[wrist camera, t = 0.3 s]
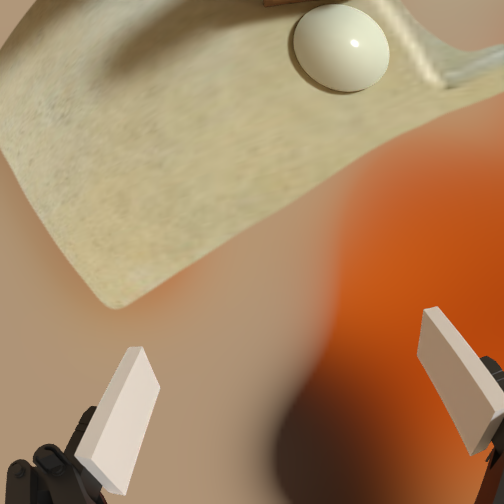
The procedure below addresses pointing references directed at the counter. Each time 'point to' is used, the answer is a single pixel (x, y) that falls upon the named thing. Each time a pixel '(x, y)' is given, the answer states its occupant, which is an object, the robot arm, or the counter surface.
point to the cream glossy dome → (341, 47)
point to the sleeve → (280, 2)
